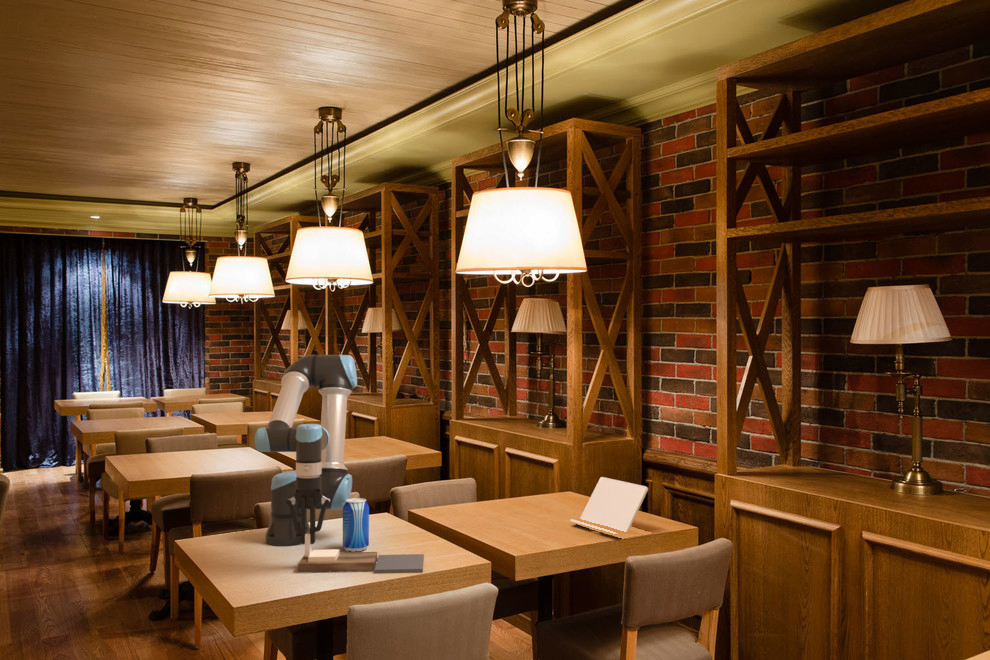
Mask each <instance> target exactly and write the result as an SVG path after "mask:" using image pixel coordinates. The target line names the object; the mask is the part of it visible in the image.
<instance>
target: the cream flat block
mask: <svg viewBox="0 0 990 660" xmlns="http://www.w3.org/2000/svg"><path fill="white" fill-rule="evenodd" d="M339 553H340V549H338V548H337V549H335V548H334V549H311V554H310V555H309V556H308V562H336V560H337V558H338V556H339Z"/></svg>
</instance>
